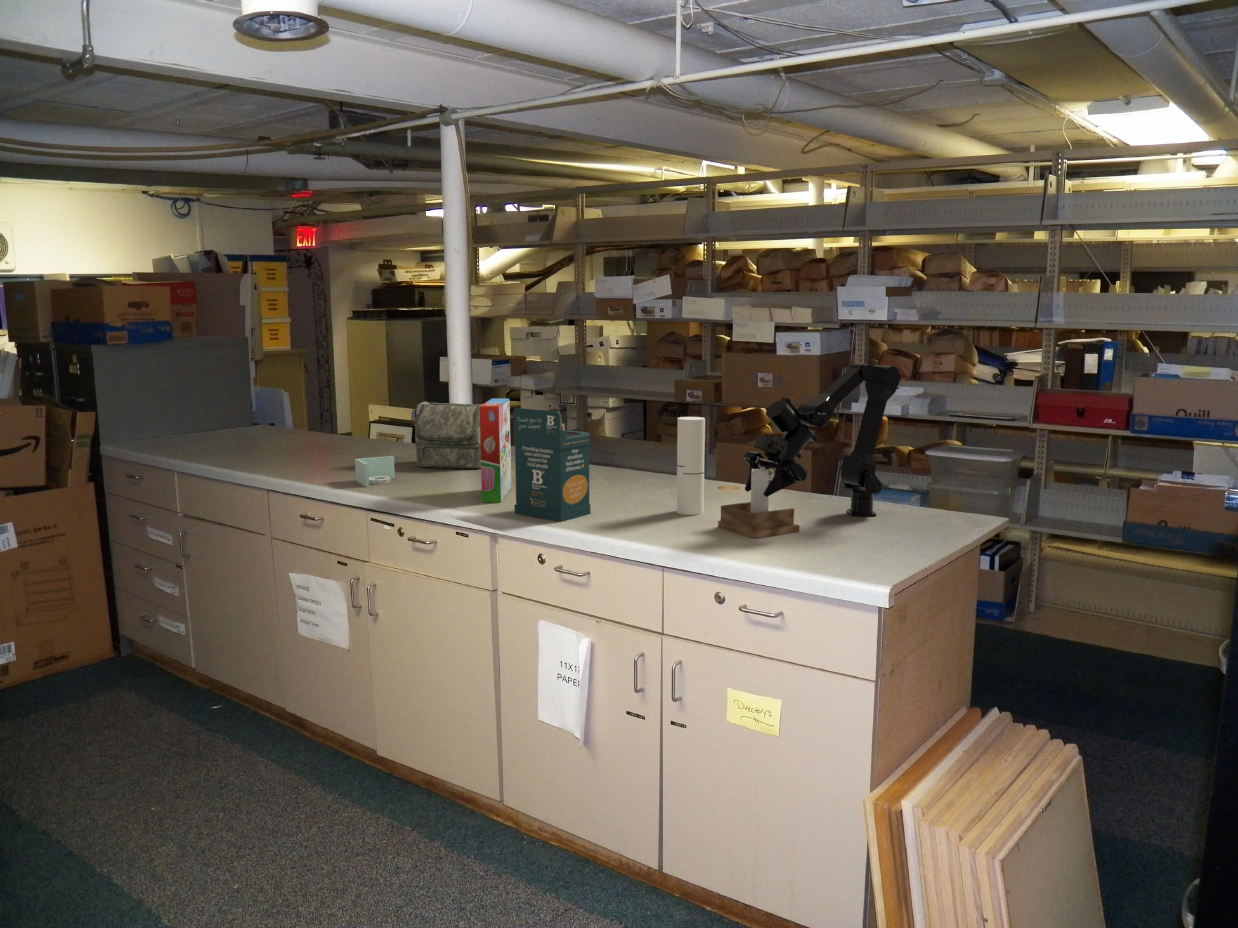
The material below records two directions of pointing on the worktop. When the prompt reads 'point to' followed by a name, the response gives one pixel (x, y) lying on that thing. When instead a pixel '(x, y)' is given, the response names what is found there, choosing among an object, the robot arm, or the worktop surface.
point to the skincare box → (759, 490)
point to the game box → (495, 449)
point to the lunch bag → (447, 435)
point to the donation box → (550, 467)
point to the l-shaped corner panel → (374, 470)
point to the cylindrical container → (690, 465)
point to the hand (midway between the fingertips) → (755, 493)
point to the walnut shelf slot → (757, 521)
